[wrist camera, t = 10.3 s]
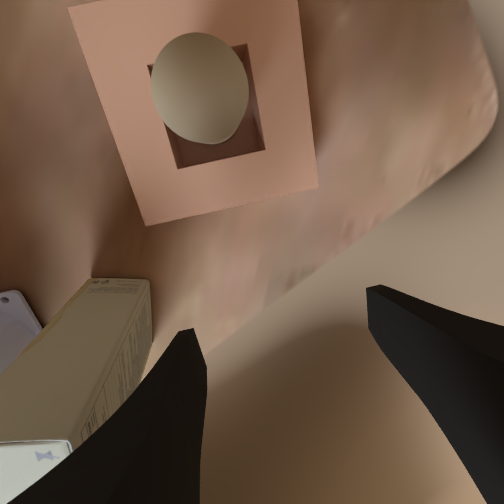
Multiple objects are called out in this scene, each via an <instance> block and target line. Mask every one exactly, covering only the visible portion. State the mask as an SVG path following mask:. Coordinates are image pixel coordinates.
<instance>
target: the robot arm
mask: <svg viewBox="0 0 504 504" xmlns="http://www.w3.org/2000/svg"><path fill="white" fill-rule="evenodd" d="M366 294H367V311H368V328H369V330H370V332H371V333H372V335H373V337H374V339H375V341H376V342H377V344H378V345H379V347H380V348H381V350H382V351H383V352H384V354H385V355H386V357H387V358H388V359H389V360H390V362H391V363H392V364H393V365H394V367H395V368H396V369H397V370H398V372H399V373H400V374H401V375H402V377H403V378H404V379H405V380H406V382H407V383H408V384H409V385H410V387H411V388H412V389H413V390H414V392H415V393H416V394H417V395H418V396H419V398H420V399H421V400H422V402H423V403H424V404H425V406H426V407H427V409H428V410H429V412H430V413H431V414H432V416H433V417H434V419H435V421H436V422H437V423H438V425H439V427H440V428H441V430H442V431H443V433H444V434H445V436H446V437H447V439H448V440H449V442H450V444H451V445H452V447H453V448H454V450H455V451H456V453H457V455H458V456H459V458H460V459H461V461H462V463H463V464H464V466H465V467H466V469H467V471H468V473H469V474H470V476H471V478H472V479H473V481H474V482H475V484H476V486H477V488H478V489H479V491H480V493H481V494H482V496H483V498H484V499H485V501H486V502H487V504H504V326H501V325H497V324H494V323H490V322H486V321H483V320H479V319H475V318H472V317H469V316H465V315H462V314H459V313H456V312H453V311H450V310H447V309H444V308H442V307H439V306H436V305H433V304H431V303H428V302H425V301H423V300H420V299H418V298H415V297H412V296H410V295H407V294H405V293H402V292H400V291H397V290H395V289H392V288H389V287H387V286H384V285H377V286H372V287H368V288H366ZM5 297H6V298H8V299H9V300H6V299H5ZM41 330H42V327H41V325H40V324H39V322H38V320H37V319H36V317H35V315H34V313H33V312H32V310H31V308H30V307H29V305H28V303H27V302H26V300H25V298H24V296H23V295H22V293H21V292H19V291H17V290H10V291H5V292H1V293H0V375H1V374H2V373H3V372H4V371H5V370H6V369H7V368H8V367H9V365H10V364H11V363H12V362H13V361H14V360H15V359H16V358H17V357H18V356H19V355H20V353H21V352H22V351H23V350H24V349H25V348H26V347H27V346H28V345H29V344H30V343H31V341H32V340H33V339H34V338H35V337H36V336H37V335H38V334H39V333H40V332H41ZM206 398H207V366H206V364H205V360H204V358H203V355H202V352H201V349H200V346H199V343H198V340H197V337H196V334H195V331H194V328H191V329H187V330H183V331H179V332H178V333H177V334H176V336H175V337H174V339H173V340H172V341H171V343H170V344H169V346H168V347H167V349H166V350H165V351H164V353H163V354H162V356H161V357H160V358H159V360H158V361H157V363H156V364H155V365H154V367H153V368H152V369H151V371H150V372H149V373H148V374H147V376H146V377H145V378H144V379H143V381H142V382H141V383H140V384H139V386H138V387H137V388H136V389H135V391H134V392H133V393H132V394H131V395H130V396H129V397H128V399H127V400H126V401H125V402H124V403H123V404H122V405H121V406H120V407H119V408H118V409H117V410H116V411H115V413H114V414H113V415H112V416H111V417H110V418H109V419H108V420H107V421H106V422H105V423H103V424H102V425H101V426H100V427H99V428H98V429H97V430H96V431H95V432H94V433H93V434H92V435H91V436H90V437H89V438H88V439H87V440H85V441H84V442H83V443H82V444H81V445H80V446H79V447H78V448H77V449H75V450H74V451H73V452H72V453H71V454H70V455H68V456H67V457H66V458H65V459H64V460H62V461H61V462H60V463H59V464H58V465H56V466H55V467H54V468H53V469H52V470H50V471H49V472H48V473H47V474H45V475H44V476H43V477H41V478H40V479H39V480H38V481H36V482H35V483H34V484H32V485H31V486H30V487H28V488H27V489H26V490H24V491H23V492H22V493H20V494H19V495H18V496H16V497H15V498H14V499H12V500H11V501H10V502H8V503H7V504H200V458H201V445H202V436H203V427H204V418H205V408H206Z"/></svg>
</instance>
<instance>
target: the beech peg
mask: <svg viewBox="0 0 504 504" xmlns="http://www.w3.org/2000/svg"><path fill="white" fill-rule="evenodd" d="M151 92H152V97H153V101H154V104H155V107H156V109H157V111H158V113H159V115H160V117H161V118H162V120H163V121H164V122H165V124H166V125H167V126H168V127H169V128H170V129H171V130H172V131H173V132H175V133H176V134H177V135H179V136H181V137H183V138H185V139H187V140H190V141H194V142H199V143H205V144H211V145H217V144H221V143H224V142H226V141H228V140H229V139H230V138H231V137H232V136H233V135H234V134H235V132H236V130H237V128H238V126H239V124H240V122H241V120H242V118H243V116H244V114H245V111H246V108H247V104H248V97H249V86H248V79H247V75H246V72H245V69H244V66H243V64H242V62H241V61H240V59H239V57H238V56H237V54H236V53H235V52H234V51H233V50H232V48H231V47H230V46H228V45H227V44H226V43H225V42H223V41H222V40H220V39H219V38H217V37H215V36H213V35H209V34H206V33H200V32H192V33H186V34H183V35H180V36H178V37H176V38H174V39H173V40H171V41H170V42H168V43H167V44H166V45H165V46H164V47H163V49H162V50H161V51H160V53H159V54H158V56H157V58H156V60H155V63H154V65H153V69H152V74H151Z"/></svg>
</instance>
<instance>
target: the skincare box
mask: <svg viewBox="0 0 504 504" xmlns="http://www.w3.org/2000/svg"><path fill="white" fill-rule="evenodd" d="M151 347H152V314H151V296H150V283H149V280H147V279H122V278H90V279H88V280H87V282H86V283H85V284H84V285H83V286H82V287H81V288H80V289H79V290H78V291H77V292H76V294H75V295H74V296H73V297H72V298H71V299H70V300H69V301H68V302H67V303H66V304H65V305H64V307H63V308H62V309H61V310H60V311H59V312H58V313H57V314H56V315H55V316H54V317H53V319H52V320H51V321H50V322H49V323H48V324H47V325H46V326H45V327H44V328H43V329H42V330H41V332H40V333H39V334H38V335H37V336H36V337H35V338H34V339H33V340H32V341H31V343H30V344H29V345H28V346H27V347H26V348H25V349H24V350H23V351H22V352H21V353H20V355H19V356H18V357H17V358H16V359H15V360H14V361H13V362H12V363H11V364H10V365H9V367H8V368H7V369H6V370H5V371H4V372H3V373H2V374H1V375H0V504H7V503H8V502H10V501H11V500H12V499H14V498H15V497H16V496H18V495H19V494H20V493H22V492H23V491H24V490H26V489H27V488H28V487H30V486H31V485H32V484H34V483H35V482H36V481H38V480H39V479H40V478H41V477H43V476H44V475H45V474H47V473H48V472H49V471H50V470H52V469H53V468H54V467H55V466H56V465H58V464H59V463H60V462H61V461H62V460H64V459H65V458H66V457H67V456H68V455H70V454H71V453H72V452H73V451H74V450H75V449H77V448H78V447H79V446H80V445H81V444H82V443H83V442H84V441H85V440H87V439H88V438H89V437H90V436H91V435H92V434H93V433H94V432H95V431H96V430H97V429H98V428H99V427H100V426H101V425H102V424H103V423H105V422H106V421H107V420H108V419H109V418H110V417H111V416H112V415H113V414H114V413H115V411H116V410H117V409H118V408H119V407H120V406H121V405H122V404H123V403H124V402H125V401H126V400H127V399H128V397H129V396H130V395H131V394H132V393H133V392H134V391H135V389H136V388H137V387H138V386H139V384H140V381H141V378H142V375H143V371H144V368H145V365H146V362H147V359H148V356H149V353H150V350H151Z"/></svg>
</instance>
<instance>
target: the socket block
mask: <svg viewBox="0 0 504 504" xmlns="http://www.w3.org/2000/svg"><path fill="white" fill-rule="evenodd" d="M67 9H68V12H69V15H70V17H71V20H72V23H73V26H74V28H75V31H76V34H77V37H78V40H79V42H80V45H81V48H82V51H83V53H84V56H85V59H86V62H87V65H88V67H89V70H90V73H91V76H92V78H93V81H94V84H95V87H96V90H97V92H98V95H99V98H100V101H101V103H102V106H103V109H104V112H105V115H106V117H107V120H108V123H109V126H110V129H111V131H112V134H113V137H114V140H115V142H116V145H117V148H118V151H119V154H120V156H121V159H122V162H123V165H124V167H125V170H126V173H127V176H128V179H129V181H130V184H131V187H132V190H133V192H134V195H135V198H136V201H137V204H138V206H139V209H140V212H141V215H142V217H143V220H144V223H145V226H151V225H155V224H160V223H164V222H169V221H173V220H178V219H182V218H186V217H191V216H195V215H200V214H204V213H209V212H213V211H218V210H222V209H227V208H231V207H235V206H240V205H244V204H249V203H253V202H258V201H262V200H267V199H271V198H276V197H280V196H284V195H289V194H293V193H298V192H302V191H307V190H311V189H316V188H319V185H318V177H317V168H316V159H315V150H314V141H313V132H312V124H311V115H310V106H309V97H308V88H307V80H306V71H305V62H304V53H303V44H302V36H301V27H300V18H299V9H298V0H101V1H97V2H92V3H87V4H82V5H77V6H73V7H68V8H67ZM192 32H200V33H206V34H209V35H213V36H215V37H217V38H219V39H220V40H222V41H223V42H225V43H226V44H227V45H228V46H230V47H231V48H232V50H233V51H234V52H235V53H236V54H237V56H238V57H239V59H240V61H241V62H242V64H243V66H244V69H245V72H246V75H247V79H248V86H249V97H248V104H247V108H246V111H245V114H244V116H243V118H242V120H241V122H240V124H239V126H238V128H237V130H236V132H235V134H234V135H233V136H232V137H231V138H230V139H229V140H228V141H226V142H224V143H221V144H217V145H211V144H205V143H199V142H194V141H190V140H187V139H185V138H183V137H181V136H179V135H177V134H176V133H175V132H173V131H172V130H171V129H170V128H169V127H168V126H167V125H166V124H165V122H164V121H163V120H162V118H161V117H160V115H159V113H158V111H157V109H156V107H155V104H154V101H153V97H152V92H151V74H152V69H153V65H154V63H155V60H156V58H157V56H158V54H159V53H160V51H161V50H162V49H163V47H164V46H165V45H166V44H167V43H168V42H170V41H171V40H173V39H174V38H176V37H178V36H180V35H183V34H186V33H192Z"/></svg>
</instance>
